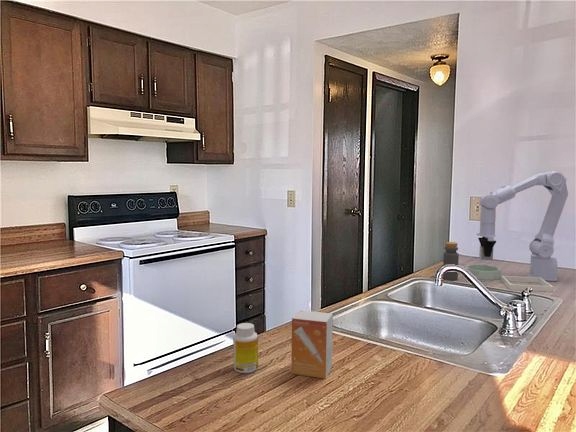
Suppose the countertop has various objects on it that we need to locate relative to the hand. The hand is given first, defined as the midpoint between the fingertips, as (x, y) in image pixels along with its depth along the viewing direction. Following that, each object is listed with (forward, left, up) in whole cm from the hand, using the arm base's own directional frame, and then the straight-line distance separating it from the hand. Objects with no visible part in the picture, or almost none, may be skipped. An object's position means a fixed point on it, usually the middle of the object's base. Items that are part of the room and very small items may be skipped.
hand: (486, 255), depth 194 cm
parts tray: (-12, +13, -9) cm, 20 cm away
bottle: (+15, +7, -9) cm, 19 cm away
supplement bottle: (+72, +106, -9) cm, 128 cm away
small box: (+57, +104, -9) cm, 119 cm away
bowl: (+1, -1, -9) cm, 9 cm away
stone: (0, 0, -1) cm, 1 cm away
